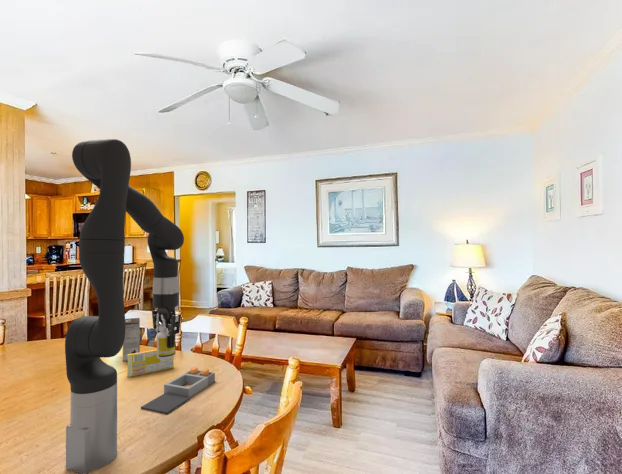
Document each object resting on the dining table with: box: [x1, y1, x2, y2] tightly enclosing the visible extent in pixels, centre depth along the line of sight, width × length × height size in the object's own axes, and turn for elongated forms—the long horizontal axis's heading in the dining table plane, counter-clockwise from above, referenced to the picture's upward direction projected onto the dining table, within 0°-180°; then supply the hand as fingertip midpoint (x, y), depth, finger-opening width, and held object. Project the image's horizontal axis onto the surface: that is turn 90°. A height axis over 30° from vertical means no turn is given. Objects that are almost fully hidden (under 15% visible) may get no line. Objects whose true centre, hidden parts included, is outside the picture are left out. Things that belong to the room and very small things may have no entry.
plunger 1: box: [189, 366, 199, 374], centre depth 124 cm, size 3×3×3 cm
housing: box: [163, 369, 216, 398], centre depth 118 cm, size 14×10×3 cm
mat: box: [140, 392, 191, 415], centre depth 106 cm, size 10×10×1 cm
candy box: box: [127, 348, 174, 378], centre depth 133 cm, size 16×2×8 cm, turn 123°
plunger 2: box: [201, 368, 210, 376], centre depth 122 cm, size 3×3×3 cm
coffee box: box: [122, 317, 141, 362], centre depth 149 cm, size 9×6×16 cm
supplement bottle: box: [156, 324, 177, 359], centre depth 107 cm, size 5×5×10 cm
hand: (165, 345), depth 106 cm, fingers closed on supplement bottle, 5 cm apart
